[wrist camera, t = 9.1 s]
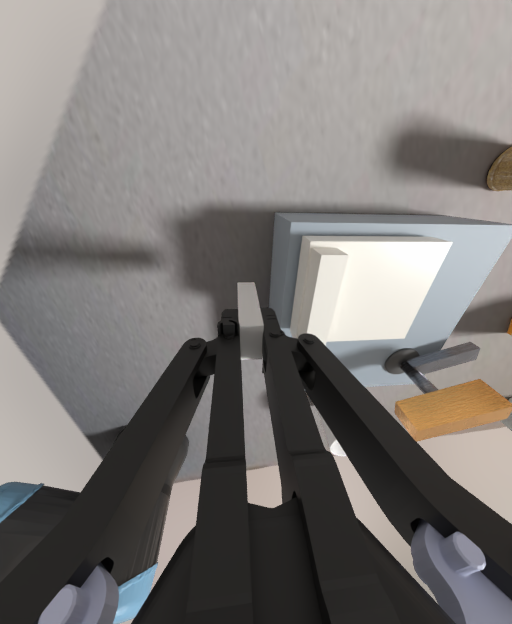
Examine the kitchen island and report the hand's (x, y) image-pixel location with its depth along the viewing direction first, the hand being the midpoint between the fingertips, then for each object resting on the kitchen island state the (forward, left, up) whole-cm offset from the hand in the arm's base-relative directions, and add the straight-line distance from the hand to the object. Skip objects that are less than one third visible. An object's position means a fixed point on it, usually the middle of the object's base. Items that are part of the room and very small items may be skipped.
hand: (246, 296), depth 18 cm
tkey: (+23, -11, -1) cm, 25 cm away
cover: (+11, 0, -2) cm, 11 cm away
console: (+15, -5, -10) cm, 19 cm away
